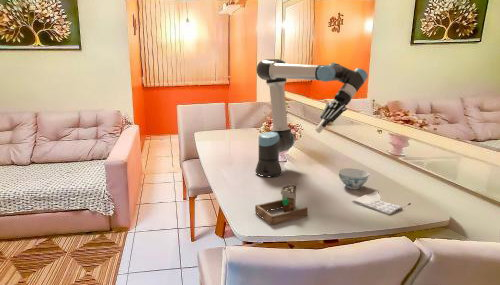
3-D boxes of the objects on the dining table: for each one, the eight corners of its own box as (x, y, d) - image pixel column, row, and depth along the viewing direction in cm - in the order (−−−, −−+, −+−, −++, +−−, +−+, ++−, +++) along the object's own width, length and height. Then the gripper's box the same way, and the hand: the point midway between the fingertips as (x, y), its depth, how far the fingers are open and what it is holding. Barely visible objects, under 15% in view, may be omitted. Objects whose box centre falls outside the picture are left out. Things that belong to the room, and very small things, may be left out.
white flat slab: (350, 202, 158) (351, 198, 157) (376, 193, 170) (376, 189, 169) (389, 217, 143) (389, 212, 143) (413, 205, 155) (414, 201, 154)
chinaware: (350, 193, 167) (351, 178, 166) (331, 184, 181) (332, 170, 179) (374, 189, 173) (375, 174, 171) (354, 180, 187) (355, 166, 185)
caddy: (255, 213, 145) (255, 205, 145) (289, 205, 154) (289, 197, 153) (271, 225, 134) (272, 217, 134) (307, 215, 143) (307, 208, 142)
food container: (282, 203, 155) (282, 182, 153) (295, 204, 154) (296, 183, 152) (278, 215, 144) (278, 192, 141) (293, 216, 142) (293, 193, 140)
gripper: (358, 101, 166) (330, 138, 162) (339, 99, 178) (312, 133, 173) (351, 90, 163) (322, 128, 158) (332, 89, 174) (304, 124, 170)
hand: (317, 131), depth 166 cm, fingers closed
